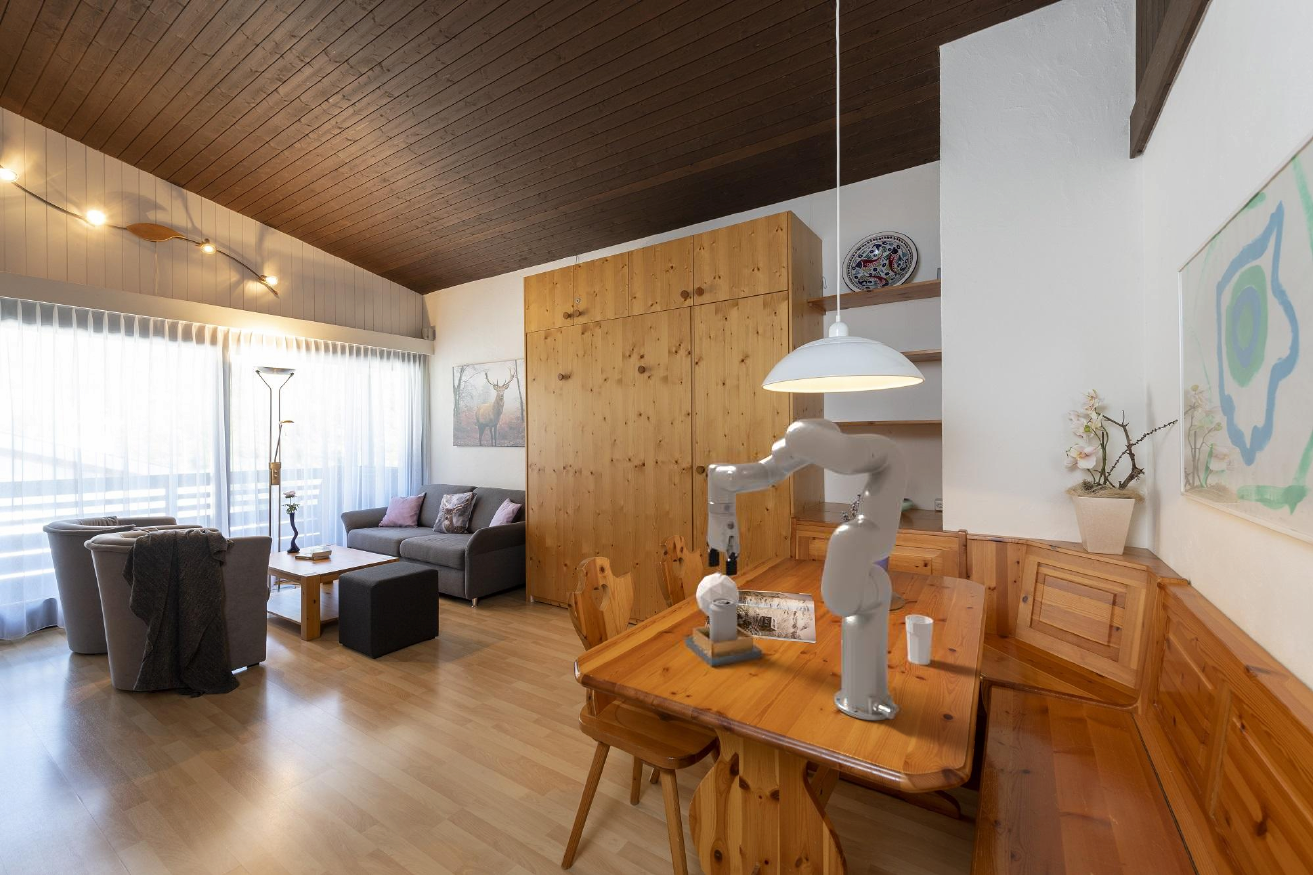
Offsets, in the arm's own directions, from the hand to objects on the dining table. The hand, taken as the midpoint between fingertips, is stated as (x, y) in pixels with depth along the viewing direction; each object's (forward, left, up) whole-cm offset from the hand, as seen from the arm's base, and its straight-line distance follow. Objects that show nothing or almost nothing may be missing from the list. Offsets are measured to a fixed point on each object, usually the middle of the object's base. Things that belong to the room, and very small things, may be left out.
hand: (722, 570), depth 155 cm
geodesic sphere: (+25, -12, -22) cm, 36 cm away
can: (0, 0, -20) cm, 20 cm away
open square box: (0, 0, -22) cm, 22 cm away
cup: (-26, -44, -22) cm, 56 cm away
